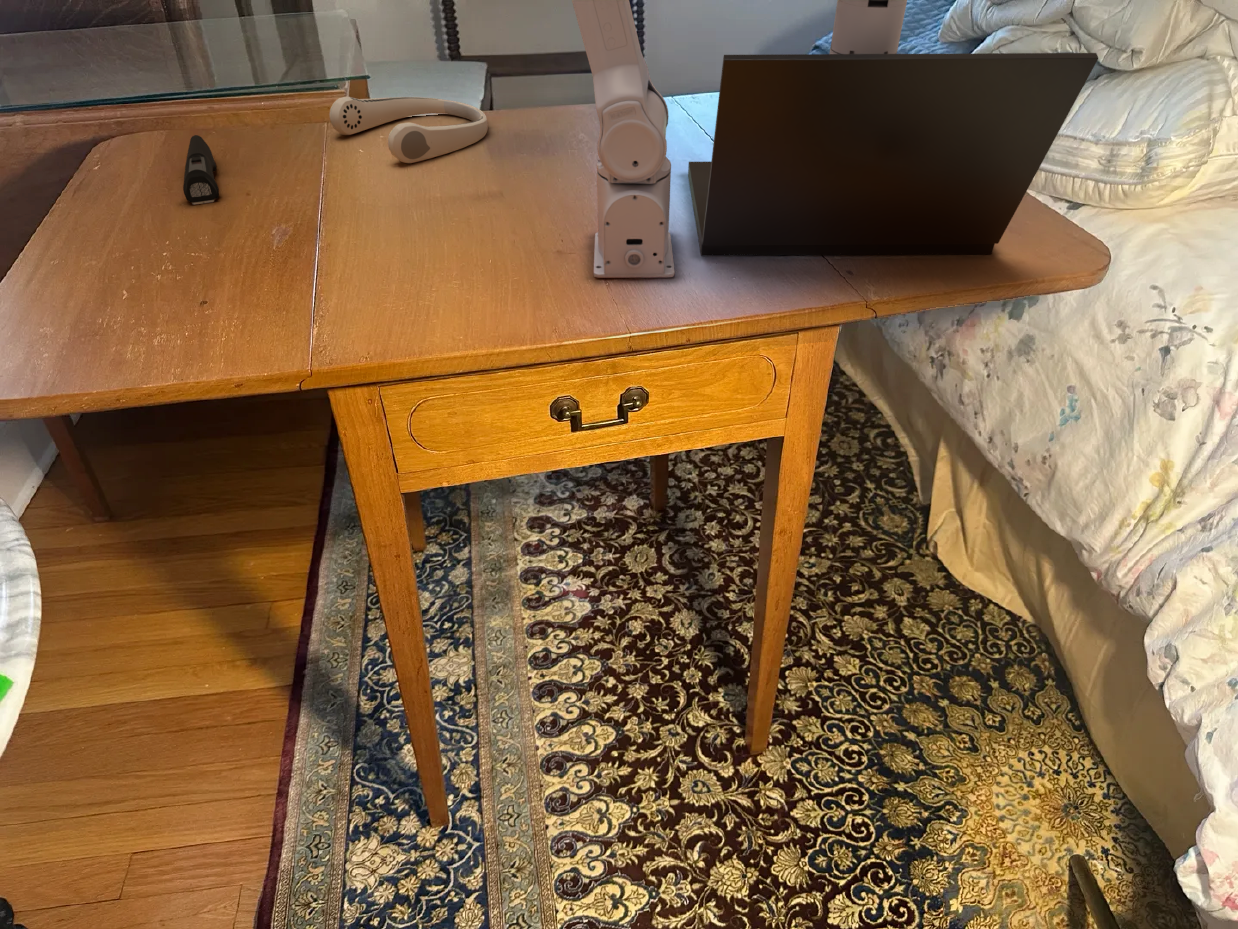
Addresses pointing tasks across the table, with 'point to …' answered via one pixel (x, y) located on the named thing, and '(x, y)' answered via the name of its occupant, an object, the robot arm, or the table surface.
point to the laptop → (699, 192)
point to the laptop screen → (882, 145)
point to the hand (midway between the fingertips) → (838, 198)
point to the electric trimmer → (200, 173)
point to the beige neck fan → (410, 124)
